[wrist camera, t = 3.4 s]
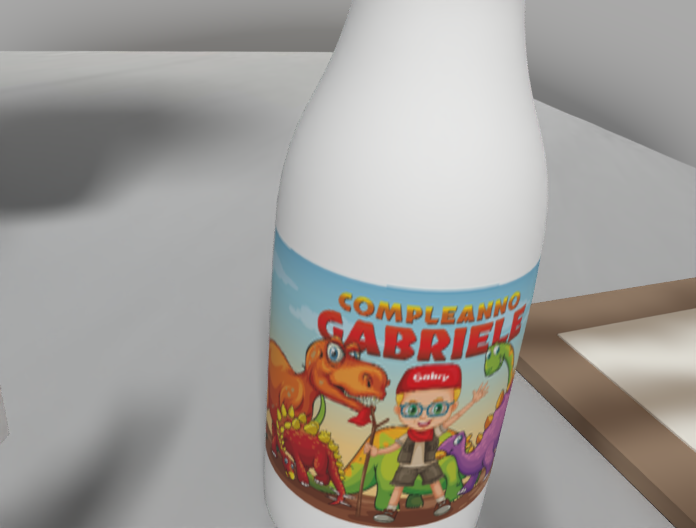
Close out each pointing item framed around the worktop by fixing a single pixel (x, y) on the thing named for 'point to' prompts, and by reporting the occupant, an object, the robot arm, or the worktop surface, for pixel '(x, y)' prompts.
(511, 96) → the milk bottle
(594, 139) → the worktop surface
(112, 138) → the worktop surface
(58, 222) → the worktop surface
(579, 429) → the writing board
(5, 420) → the robot arm
